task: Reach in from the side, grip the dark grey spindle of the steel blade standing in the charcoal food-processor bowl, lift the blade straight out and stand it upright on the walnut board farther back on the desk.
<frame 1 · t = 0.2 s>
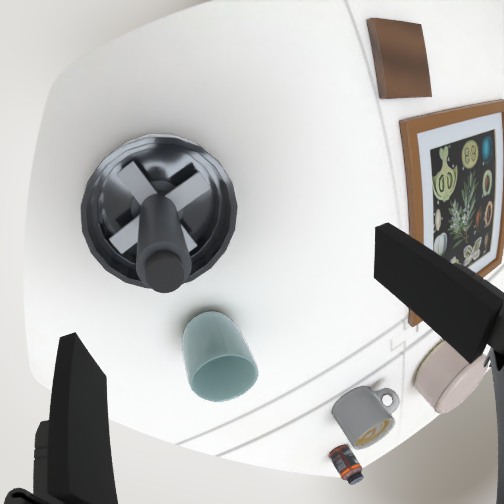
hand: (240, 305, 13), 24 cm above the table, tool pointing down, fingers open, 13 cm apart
processor bowl: (157, 202, 33), on the table
coffee mug: (358, 397, 62), on the table
blade: (157, 204, 33), point 1 cm above the table, touching processor bowl
supplement bottle: (337, 449, 73), on the table
board: (398, 58, 34), on the table
wall art: (465, 208, 49), on the table
container: (437, 360, 69), on the table
cup: (207, 325, 42), on the table
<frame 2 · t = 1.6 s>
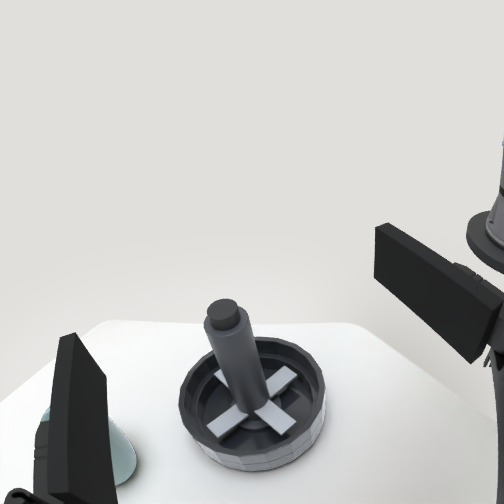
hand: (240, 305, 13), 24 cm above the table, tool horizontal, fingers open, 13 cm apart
processor bowl: (258, 415, 33), on the table
blade: (257, 411, 32), point 1 cm above the table, touching processor bowl
cup: (117, 466, 29), on the table
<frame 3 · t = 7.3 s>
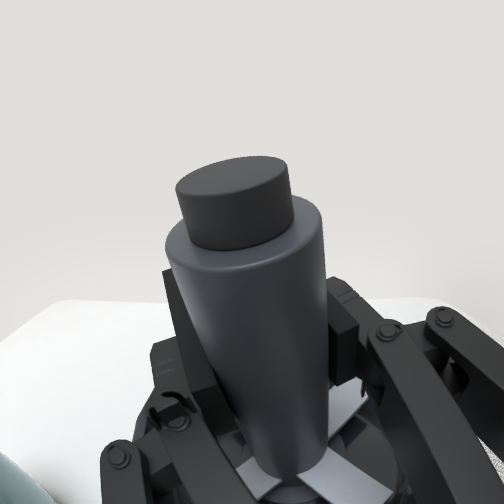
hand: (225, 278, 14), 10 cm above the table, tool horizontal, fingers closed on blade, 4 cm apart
processor bowl: (295, 468, 15), on the table
blade: (294, 463, 15), point 1 cm above the table, touching gripper, processor bowl
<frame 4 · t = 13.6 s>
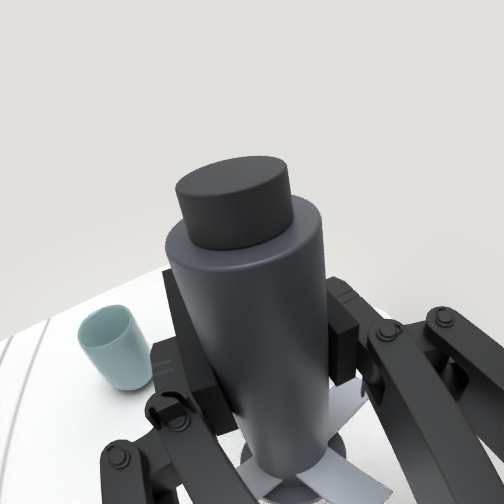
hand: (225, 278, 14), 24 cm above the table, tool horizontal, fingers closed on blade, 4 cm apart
blade: (294, 463, 15), point 14 cm above the table, touching gripper
cup: (136, 377, 40), on the table
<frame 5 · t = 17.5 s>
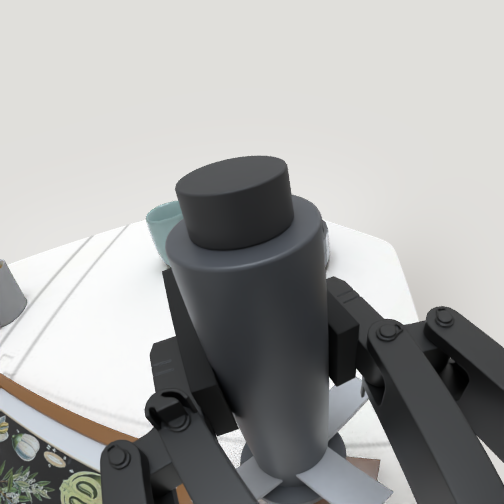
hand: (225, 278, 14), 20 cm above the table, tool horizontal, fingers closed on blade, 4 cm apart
coffee mug: (6, 317, 51), on the table
blade: (294, 463, 15), point 11 cm above the table, touching gripper
board: (303, 501, 20), on the table
cup: (184, 261, 57), on the table
when the fingers open (11 cm above the table, at t = 20.3 s): blade stays where it is, resting on board.
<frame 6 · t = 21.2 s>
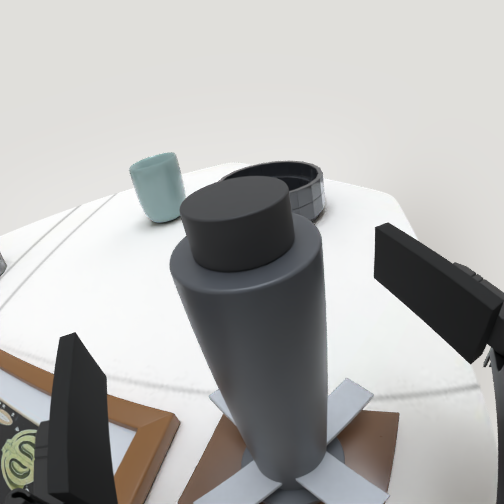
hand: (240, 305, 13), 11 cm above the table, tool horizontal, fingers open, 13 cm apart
processor bowl: (273, 212, 46), on the table
blade: (293, 466, 15), point 1 cm above the table, touching board
board: (296, 473, 16), on the table
cup: (169, 217, 53), on the table
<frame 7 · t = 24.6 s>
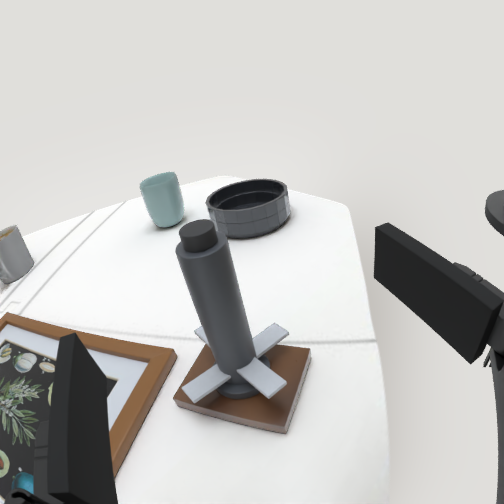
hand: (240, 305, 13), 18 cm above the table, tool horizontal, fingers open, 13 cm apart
processor bowl: (251, 220, 61), on the table
coffee mug: (14, 276, 61), on the table
blade: (242, 375, 29), point 1 cm above the table, touching board
board: (245, 383, 30), on the table
wall art: (12, 414, 28), on the table
cup: (170, 223, 67), on the table
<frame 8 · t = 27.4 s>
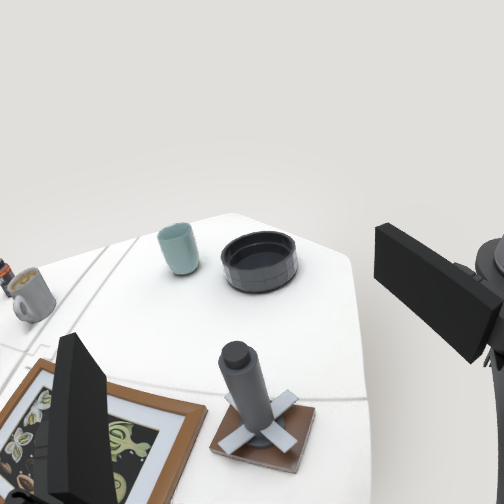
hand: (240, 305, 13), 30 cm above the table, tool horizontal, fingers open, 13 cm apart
processor bowl: (262, 272, 67), on the table
coffee mug: (38, 315, 67), on the table
blade: (262, 429, 35), point 1 cm above the table, touching board
supplement bottle: (14, 292, 80), on the table
board: (264, 434, 36), on the table
wall art: (64, 457, 34), on the table
cup: (186, 270, 73), on the table
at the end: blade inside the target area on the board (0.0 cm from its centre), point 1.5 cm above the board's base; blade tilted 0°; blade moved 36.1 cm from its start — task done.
